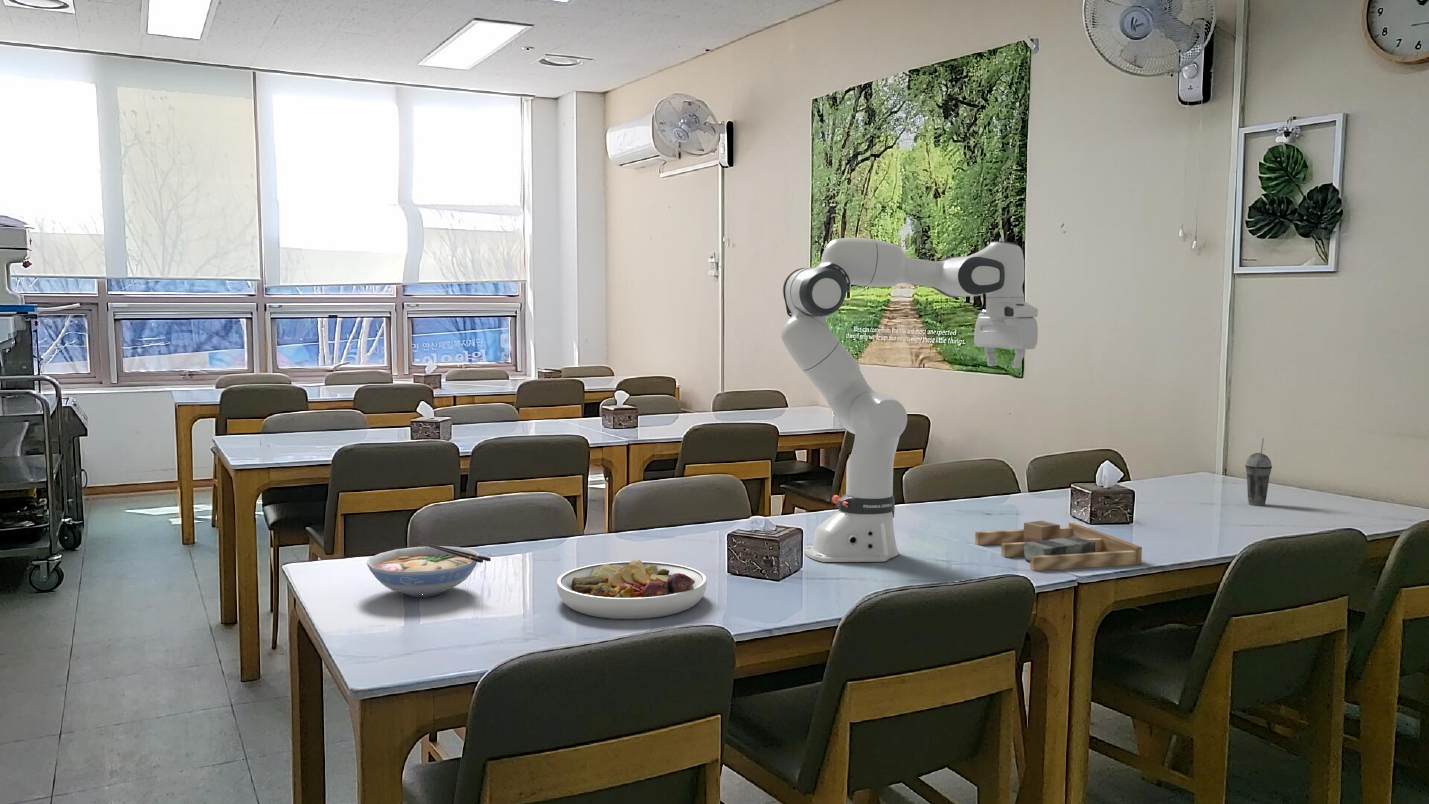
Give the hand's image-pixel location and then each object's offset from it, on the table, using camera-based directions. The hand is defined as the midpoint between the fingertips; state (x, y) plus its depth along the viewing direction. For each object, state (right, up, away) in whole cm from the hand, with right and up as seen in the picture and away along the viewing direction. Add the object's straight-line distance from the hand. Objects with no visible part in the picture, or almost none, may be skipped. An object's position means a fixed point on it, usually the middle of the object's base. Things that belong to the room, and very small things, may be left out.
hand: (1004, 367), depth 264 cm
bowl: (-87, -49, -44) cm, 109 cm away
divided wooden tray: (+12, -45, -1) cm, 47 cm away
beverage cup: (+92, -39, +63) cm, 119 cm away
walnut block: (+11, -45, +5) cm, 46 cm away
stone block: (+10, -46, -9) cm, 48 cm away
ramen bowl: (-130, -48, -37) cm, 144 cm away
